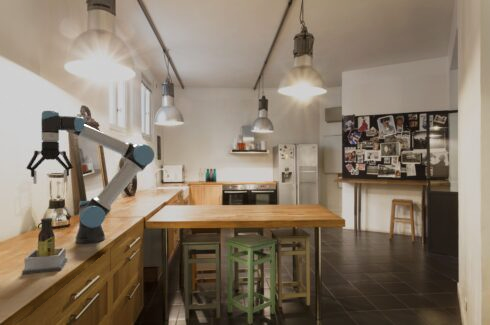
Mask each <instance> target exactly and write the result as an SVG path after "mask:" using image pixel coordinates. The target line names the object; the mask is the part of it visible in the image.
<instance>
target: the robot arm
mask: <svg viewBox="0 0 490 325" xmlns="http://www.w3.org/2000/svg"><path fill="white" fill-rule="evenodd" d="M85 123H86V122H85V118H84V117H83V116H69V115H66V116H65V115H60V113H59V111H56V110H44V111H42V112H41V151H40V150H34V151H33V156H32V157H31V159H30V161H29V162H28V164H27V166H26V170H30V177H31V178H32V179H33V180H32V182H33V184H35V185H36V184H37V170H36V169H37V168H38V167H39V166H40V165H41V164H42V163H43V162H44V161H45V160H46V161H47V160H48V161H50V160H52V161H53V160H56V161H57V162H58V163H59V164H60V165H61V166H62V167H63V168H64V169H63V183H68V177H69V175H70V173H69V172H70V170H71V169H73V165H72V163H71V162H70V159H69V157H68V155H67V151H65V150H63V151H61V150H60V143H59V140H60V138H59V137H60V136H59V134H60V131H65V132H67V133H69V134H73V135H75V136H76V137H77V136H78V137H80V138H82V139H85V140H87V141H90V142H92V143H93V144H96V145H98V146H101V147H103V148H105V149H108V150H110V151H112V152H115V153H118V154H119V155H121V157H122V158H125V163H124V164H123V165H122V166H121V167H120V169H119V170H118V171H117V173H116V174H115V175H114V176H113V177H112V178H111V180H110V181H109V182H108V183H107V184H106V186H105V187H104V188H103V189H102V190H101V192H100V193H99V194H98V195H97V196H95V197H92V198H91V199H90V200H80V201H79V203H78V230H77V234H76V236H75V243H77V244H91V243H93V244H94V243H98V242H102V241H104V240H106V236H105V231H104V229H103V226H102V224H103V223H104V221H105V219H106V217H107V216H108V214H109V213H110V212H111V210H112V209H111V207H112V205H113V204H114V202H115V201H116V200H117V199H118V198H119V196H120V195H121V194H122V193H123V192H124V190H125V189H126V188H127V186H128V185H129V184H130V183H131V181H132V180H133V179H134V178H135V176H136V175H137V174H138V173H140V172H143V171H144V170H145V168H146V167H147V166H148V165H150V164H151V163H152V162H153V161H154V159H155V152H154V150H153V148H152V147H151V146H150V145H147V144H144V143H141V144H134V143H132V142H125V141H123V140H120V139H119V138H116V137H114V136H112V135H109V134H107V133H105V132H102V131H100V130H98V129H96V128H94V127H91V126H90V125H87V124H85ZM39 155H41V158H40V159H38V161H36V159H37V158H38V156H39ZM60 156H62V158H63V160H64V161H65V162H64V161H63V160H62V159H61V158H60ZM35 161H36V163H35Z"/></svg>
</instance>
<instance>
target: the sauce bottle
mask: <svg viewBox="0 0 490 325" xmlns="http://www.w3.org/2000/svg"><path fill="white" fill-rule="evenodd" d="M40 223H41V230H39V233H38V236H37V238H38V239H37V240H38V241H37V250H38V257H42V256H53V255H55V246H56V244H55V242H56V238H55V236H56V235H55V233H54V230H53V227H52V224H53V218H52V217H43V218H41V219H40Z"/></svg>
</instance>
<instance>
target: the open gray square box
mask: <svg viewBox="0 0 490 325" xmlns="http://www.w3.org/2000/svg"><path fill="white" fill-rule="evenodd" d="M66 253H67V252H66V247H58V248H55V255H53V256H42V257H38V249H33V250H32V251H31V252H29V254H28V255H27V256H25V257H24V269H22V272H21V274H22V275H29V274H38V273H49V272H60V271H62V270H63V268H64V267H65V265H66V264H65V263H67V262H68V261H67V260H69V259H68V257H66V256H67V255H66ZM59 270H60V271H59Z"/></svg>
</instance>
